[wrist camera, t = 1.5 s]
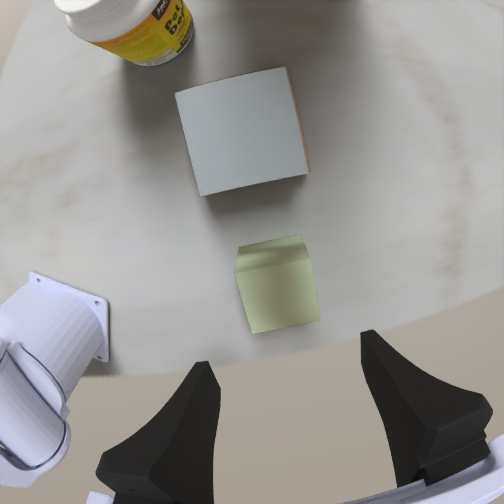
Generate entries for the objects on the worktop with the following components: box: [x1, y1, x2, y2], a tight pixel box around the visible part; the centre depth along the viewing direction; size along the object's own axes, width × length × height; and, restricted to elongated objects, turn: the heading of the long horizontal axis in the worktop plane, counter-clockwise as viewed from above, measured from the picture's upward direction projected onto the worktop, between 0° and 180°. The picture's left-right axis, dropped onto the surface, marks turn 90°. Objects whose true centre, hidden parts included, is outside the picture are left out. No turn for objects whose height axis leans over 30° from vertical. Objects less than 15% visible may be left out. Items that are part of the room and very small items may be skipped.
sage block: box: [234, 234, 320, 334], centre depth 21 cm, size 5×5×4 cm
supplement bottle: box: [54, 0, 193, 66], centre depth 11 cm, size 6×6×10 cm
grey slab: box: [175, 67, 308, 196], centre depth 16 cm, size 6×6×2 cm
